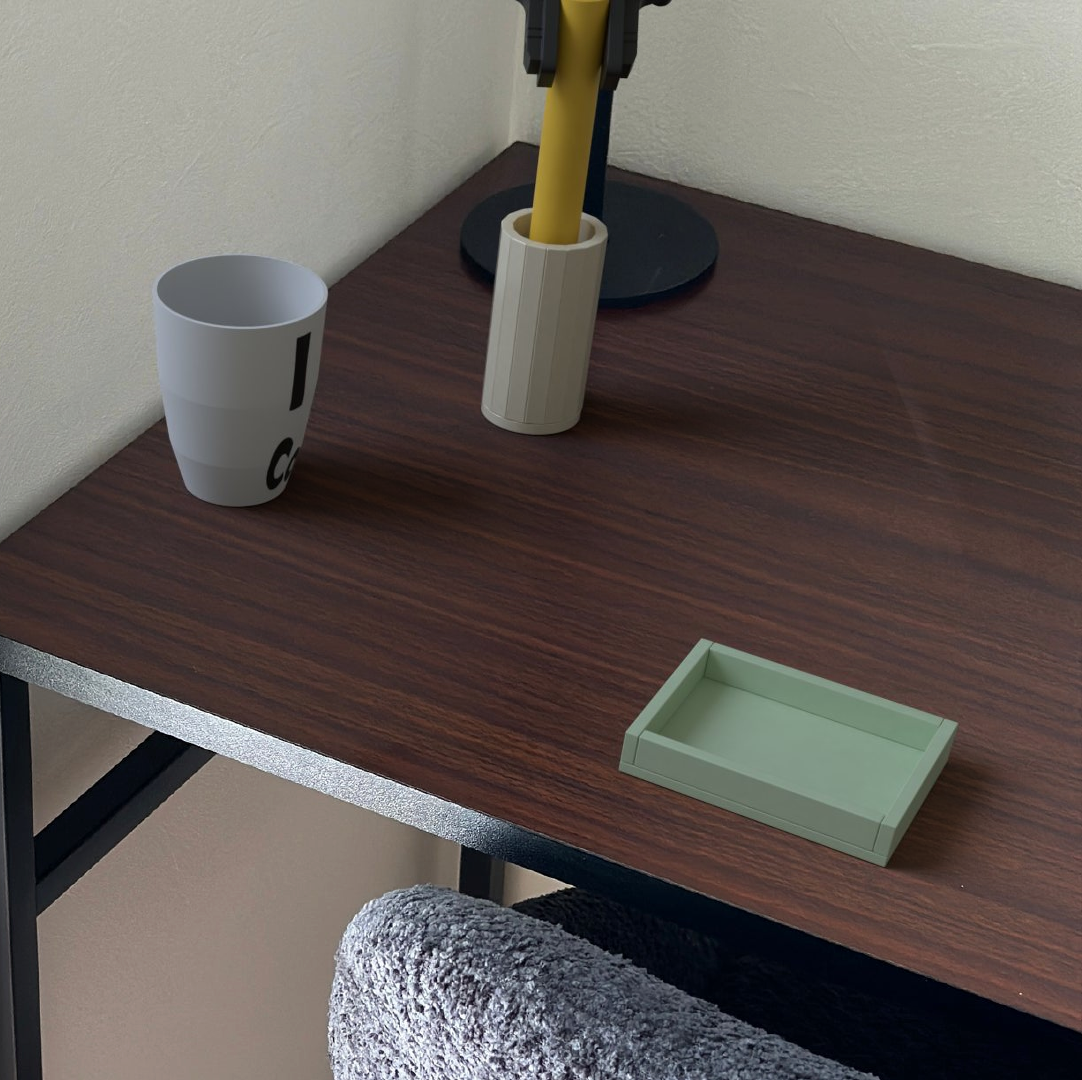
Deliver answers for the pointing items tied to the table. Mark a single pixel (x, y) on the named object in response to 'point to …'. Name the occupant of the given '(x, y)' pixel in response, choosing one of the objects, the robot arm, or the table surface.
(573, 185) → the pencil
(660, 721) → the tray
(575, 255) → the pencil holder
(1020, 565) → the table surface
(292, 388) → the cup
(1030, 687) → the table surface
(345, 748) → the table surface
